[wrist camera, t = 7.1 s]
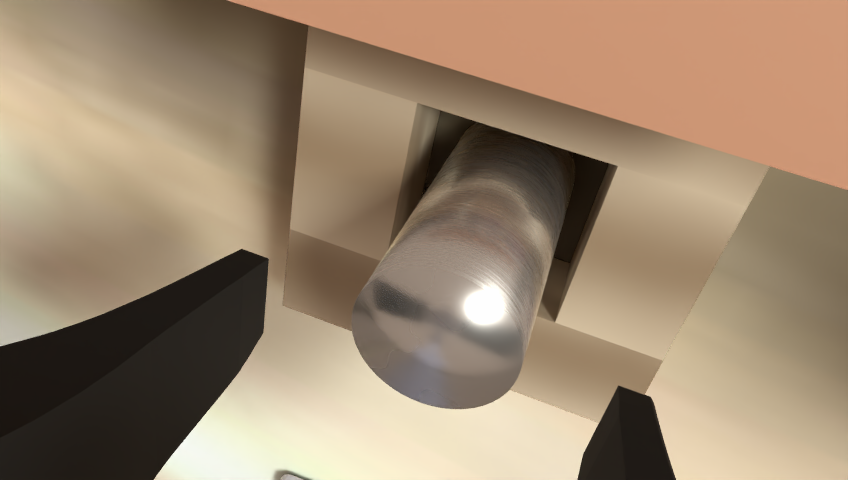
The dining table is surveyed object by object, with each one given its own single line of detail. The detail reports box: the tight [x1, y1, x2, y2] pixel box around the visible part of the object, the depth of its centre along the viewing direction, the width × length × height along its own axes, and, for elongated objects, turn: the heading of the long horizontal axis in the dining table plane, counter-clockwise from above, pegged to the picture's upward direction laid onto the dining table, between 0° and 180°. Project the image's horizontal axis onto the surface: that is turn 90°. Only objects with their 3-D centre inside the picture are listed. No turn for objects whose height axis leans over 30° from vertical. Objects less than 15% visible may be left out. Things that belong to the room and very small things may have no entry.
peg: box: [351, 122, 575, 409], centre depth 17 cm, size 4×4×8 cm
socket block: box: [283, 25, 770, 423], centre depth 19 cm, size 11×11×3 cm
